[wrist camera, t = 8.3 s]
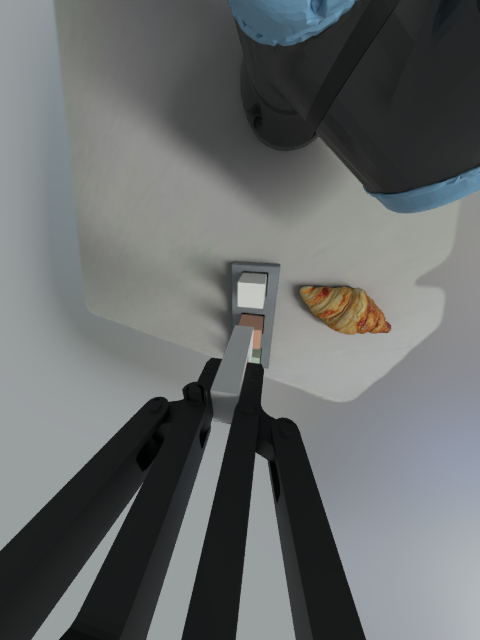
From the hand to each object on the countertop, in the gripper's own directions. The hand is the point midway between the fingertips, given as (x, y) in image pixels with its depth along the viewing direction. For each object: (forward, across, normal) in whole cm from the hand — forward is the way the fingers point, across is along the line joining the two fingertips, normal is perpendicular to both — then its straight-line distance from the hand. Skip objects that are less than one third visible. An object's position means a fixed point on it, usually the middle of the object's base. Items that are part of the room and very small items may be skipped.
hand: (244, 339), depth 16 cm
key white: (+27, -2, -5) cm, 27 cm away
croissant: (+30, +18, -9) cm, 36 cm away
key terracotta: (+27, -2, -15) cm, 31 cm away
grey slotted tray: (+29, -2, -15) cm, 33 cm away
